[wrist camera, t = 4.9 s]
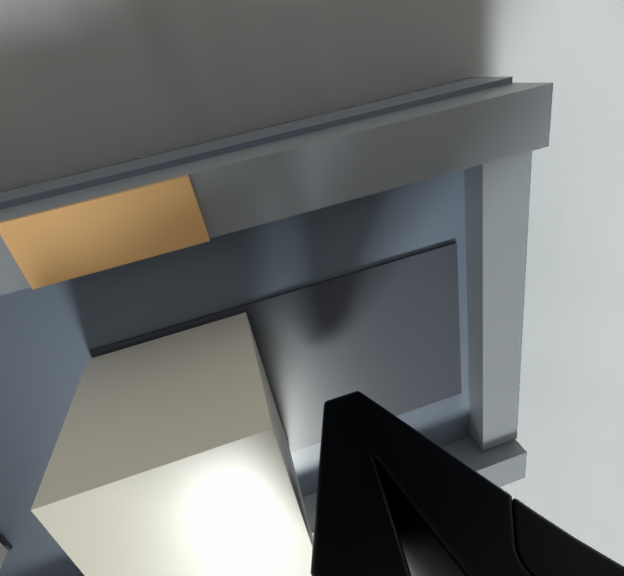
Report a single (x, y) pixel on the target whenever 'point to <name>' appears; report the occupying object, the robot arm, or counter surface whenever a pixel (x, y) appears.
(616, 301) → the counter surface
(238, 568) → the beige block
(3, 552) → the off-white rectangular block
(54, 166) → the counter surface
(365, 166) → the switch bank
